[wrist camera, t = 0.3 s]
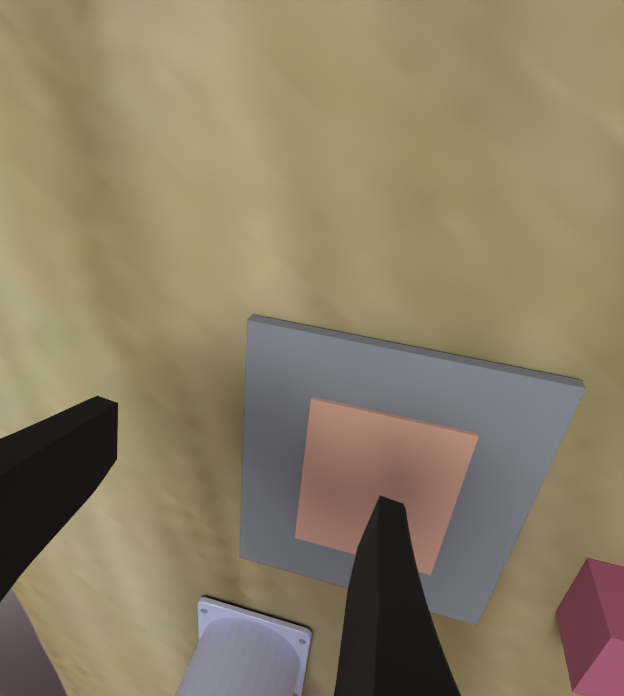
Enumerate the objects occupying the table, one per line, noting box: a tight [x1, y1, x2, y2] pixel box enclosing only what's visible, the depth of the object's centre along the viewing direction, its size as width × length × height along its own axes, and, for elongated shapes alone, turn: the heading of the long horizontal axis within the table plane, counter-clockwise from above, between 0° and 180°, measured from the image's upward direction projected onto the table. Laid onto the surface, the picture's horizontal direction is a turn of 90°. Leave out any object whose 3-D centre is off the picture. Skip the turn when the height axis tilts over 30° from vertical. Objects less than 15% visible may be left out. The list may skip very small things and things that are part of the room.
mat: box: [240, 315, 585, 625], centre depth 24 cm, size 16×14×1 cm
